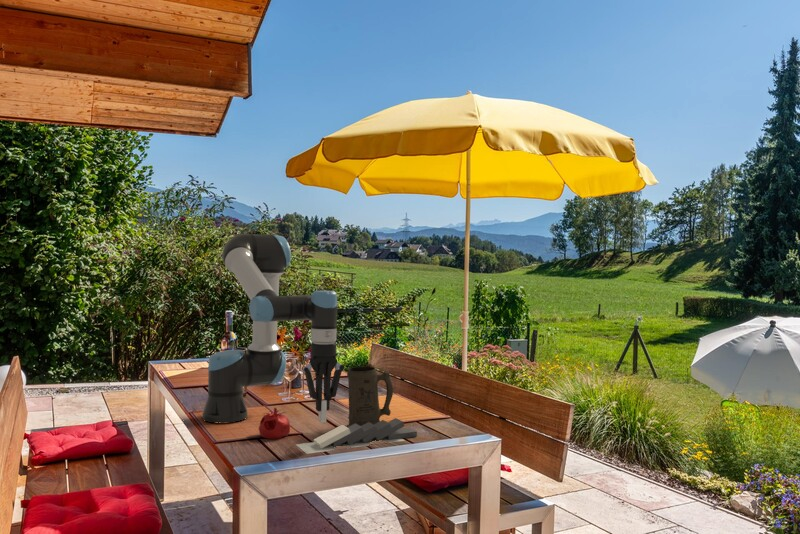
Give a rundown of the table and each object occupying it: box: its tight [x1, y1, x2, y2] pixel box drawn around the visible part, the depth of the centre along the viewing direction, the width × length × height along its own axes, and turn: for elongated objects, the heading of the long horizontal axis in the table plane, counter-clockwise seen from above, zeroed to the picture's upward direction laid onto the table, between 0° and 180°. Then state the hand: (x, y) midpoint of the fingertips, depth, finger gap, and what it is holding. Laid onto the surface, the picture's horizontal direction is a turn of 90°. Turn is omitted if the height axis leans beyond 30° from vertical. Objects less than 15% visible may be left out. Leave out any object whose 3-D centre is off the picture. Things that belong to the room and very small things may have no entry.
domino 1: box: [313, 424, 350, 449], centre depth 187 cm, size 2×5×10 cm
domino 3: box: [345, 422, 377, 445], centre depth 191 cm, size 2×5×10 cm
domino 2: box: [331, 423, 364, 447], centre depth 189 cm, size 2×5×10 cm
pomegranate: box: [258, 407, 291, 440], centre depth 196 cm, size 10×10×9 cm
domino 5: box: [373, 417, 405, 441], centre depth 196 cm, size 2×5×10 cm
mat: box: [295, 438, 406, 455], centre depth 190 cm, size 32×10×1 cm, turn 118°
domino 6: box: [384, 427, 418, 440], centre depth 198 cm, size 2×5×10 cm
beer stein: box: [346, 366, 394, 427], centre depth 209 cm, size 15×11×20 cm
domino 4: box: [360, 419, 391, 443], centre depth 194 cm, size 2×5×10 cm
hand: (322, 421), depth 186 cm, fingers closed
